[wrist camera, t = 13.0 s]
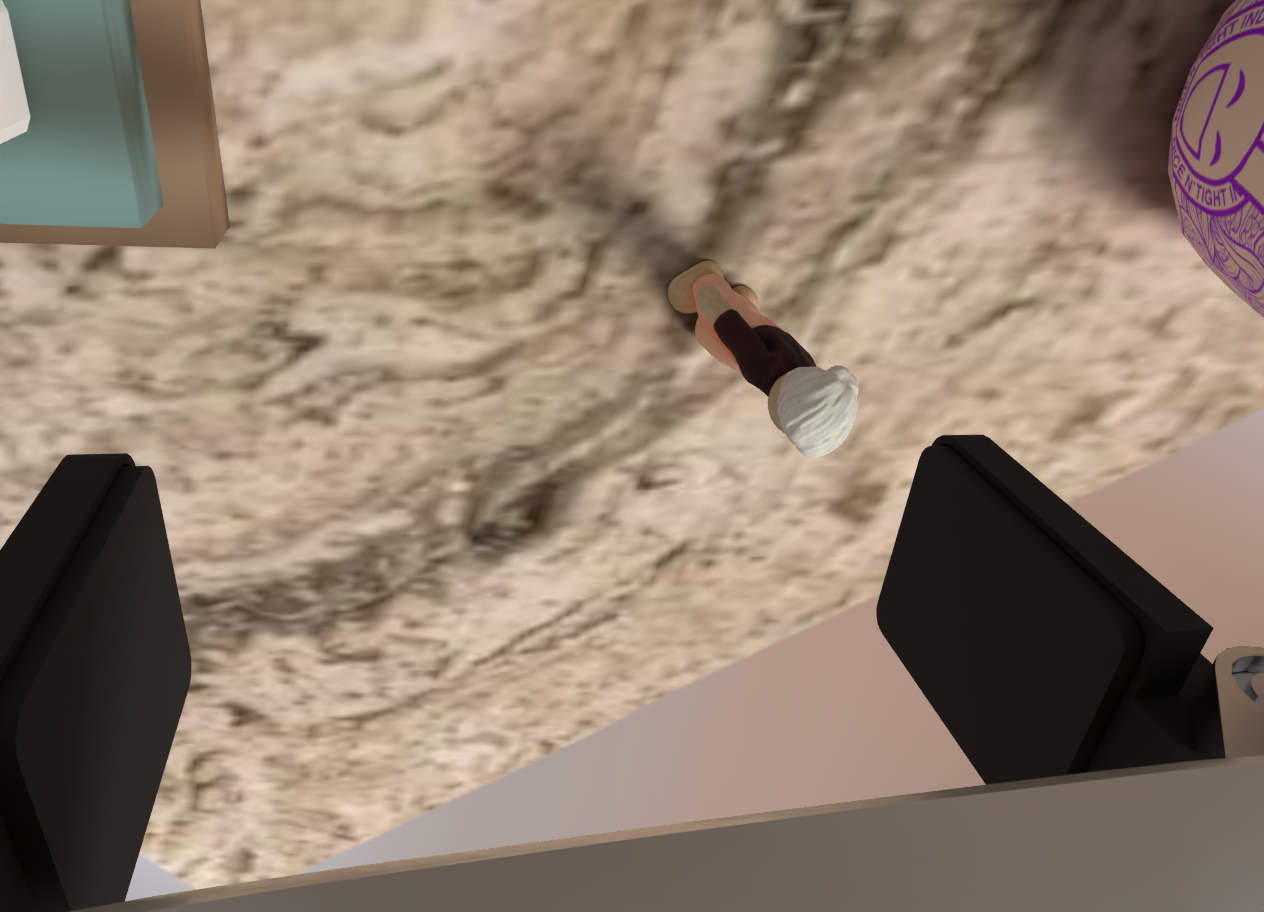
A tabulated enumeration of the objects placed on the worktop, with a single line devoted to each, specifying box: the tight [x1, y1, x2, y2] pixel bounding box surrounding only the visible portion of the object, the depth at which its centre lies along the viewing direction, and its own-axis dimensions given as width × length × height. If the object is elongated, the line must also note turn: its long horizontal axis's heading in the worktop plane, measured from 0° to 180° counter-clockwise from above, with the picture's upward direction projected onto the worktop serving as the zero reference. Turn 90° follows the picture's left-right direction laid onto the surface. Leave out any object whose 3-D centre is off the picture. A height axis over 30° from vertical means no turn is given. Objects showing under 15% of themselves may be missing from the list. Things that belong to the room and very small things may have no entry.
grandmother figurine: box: [667, 261, 859, 458], centre depth 35 cm, size 8×4×13 cm, turn 61°
